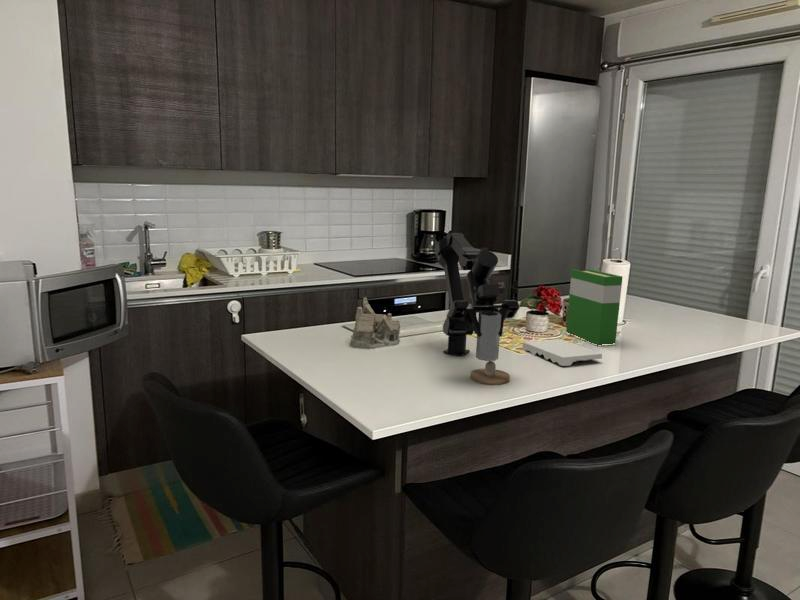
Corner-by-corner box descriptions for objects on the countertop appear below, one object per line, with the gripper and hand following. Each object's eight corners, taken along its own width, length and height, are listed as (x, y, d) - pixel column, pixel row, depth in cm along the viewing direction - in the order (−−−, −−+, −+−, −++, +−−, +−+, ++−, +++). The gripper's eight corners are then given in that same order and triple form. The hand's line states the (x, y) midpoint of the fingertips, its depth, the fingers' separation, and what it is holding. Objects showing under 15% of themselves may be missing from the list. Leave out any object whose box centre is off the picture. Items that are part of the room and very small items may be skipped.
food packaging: (522, 352, 195) (562, 368, 176) (523, 342, 194) (562, 357, 176) (559, 348, 201) (601, 364, 183) (559, 339, 200) (602, 353, 182)
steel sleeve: (473, 354, 164) (476, 311, 161) (493, 354, 165) (496, 310, 162) (480, 361, 158) (483, 316, 156) (500, 360, 160) (503, 315, 157)
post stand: (480, 369, 172) (481, 353, 171) (515, 377, 166) (516, 360, 165) (463, 379, 163) (464, 362, 162) (500, 387, 157) (501, 370, 156)
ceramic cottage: (343, 346, 191) (347, 300, 188) (361, 336, 206) (365, 294, 204) (389, 354, 187) (394, 308, 184) (403, 343, 202) (408, 301, 200)
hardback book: (565, 333, 218) (571, 269, 213) (582, 332, 221) (588, 268, 216) (597, 346, 202) (605, 277, 197) (615, 344, 205) (622, 276, 200)
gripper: (454, 271, 159) (465, 321, 150) (519, 271, 163) (533, 320, 154) (445, 294, 168) (454, 342, 160) (506, 293, 172) (518, 340, 163)
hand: (490, 336), depth 159 cm, fingers closed on steel sleeve, 6 cm apart
